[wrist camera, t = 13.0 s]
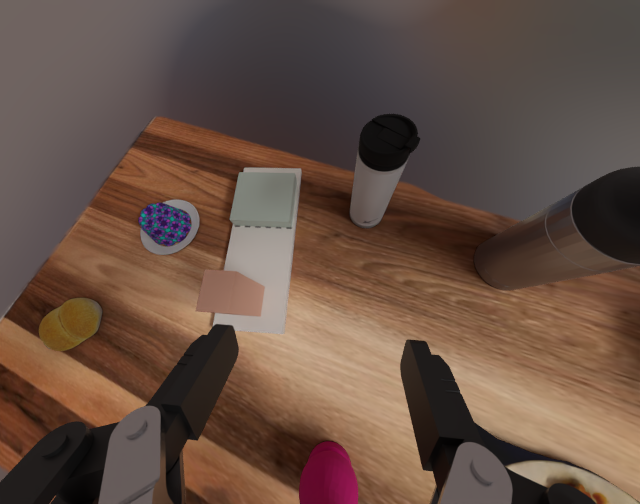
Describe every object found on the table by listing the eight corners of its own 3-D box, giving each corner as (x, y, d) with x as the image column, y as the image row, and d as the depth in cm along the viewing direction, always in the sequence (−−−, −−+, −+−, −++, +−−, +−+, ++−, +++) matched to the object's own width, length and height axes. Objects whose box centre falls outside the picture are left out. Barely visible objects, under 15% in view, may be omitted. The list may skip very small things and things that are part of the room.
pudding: (142, 210, 47) (119, 197, 42) (197, 194, 48) (181, 179, 43) (144, 263, 44) (120, 255, 39) (205, 245, 44) (188, 235, 39)
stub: (242, 285, 39) (204, 269, 28) (264, 286, 39) (236, 271, 28) (237, 314, 38) (195, 311, 26) (260, 316, 38) (228, 313, 26)
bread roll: (111, 325, 40) (88, 325, 37) (64, 357, 39) (35, 361, 35) (96, 288, 43) (73, 284, 39) (51, 317, 41) (22, 317, 38)
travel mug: (370, 236, 42) (400, 163, 23) (342, 216, 44) (349, 133, 25) (390, 212, 43) (433, 125, 24) (362, 193, 45) (382, 98, 26)
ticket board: (246, 171, 48) (239, 159, 45) (301, 172, 47) (299, 160, 44) (215, 328, 39) (203, 329, 35) (284, 333, 38) (279, 334, 34)
